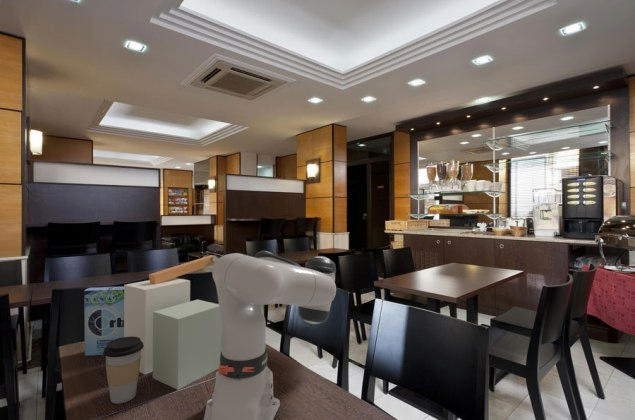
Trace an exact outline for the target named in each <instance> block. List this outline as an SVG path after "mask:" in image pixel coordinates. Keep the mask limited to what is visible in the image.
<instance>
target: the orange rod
mask: <svg viewBox="0 0 635 420" xmlns="http://www.w3.org/2000/svg"><path fill="white" fill-rule="evenodd" d="M206 256H207V257H204V256H202V257H200V258H198V259H194V260H191V261H188V262H184V263H181V264H177V265H174V266H172V267H169V268H168V267H167V268H165V269H162V270H159V271H155V272H153V273H150V274H148V277H149V279H148V280H150V283H152V284H158V283H161V282H163V281H166V280H169V279H172V278H178V277H181V276H184V275H186V274H190V273H192V272H195V271H198V270H200V269H205V268H204V267H207V266H210V265H213V264H215V262H213V261H211V258H212V257H217V255H210V254H209V255H206Z"/></svg>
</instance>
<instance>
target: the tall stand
mask: <svg viewBox="0 0 635 420" xmlns="http://www.w3.org/2000/svg"><path fill="white" fill-rule="evenodd" d="M190 301H191V280H188V279H184V278H178V277H175V278H172V279H169V280H166V281H163V282H161V283H158V284H152V283H150V280H149V279H148V280H144V281H138V282H132V283H127V284H124V337H131V336H132V337H139V338H140V339H141V341H142V342H143V345H144V347H143V349H141V355H140V356H141V361H140V369H139V373H140V374H143V375H147V374H149V373H151V372H152V373H153V312H154V311H158V310H161V309H165V308H169V307H172V306H176V305H180V304H183V303H187V302H190Z"/></svg>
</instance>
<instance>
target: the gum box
mask: <svg viewBox="0 0 635 420" xmlns="http://www.w3.org/2000/svg"><path fill="white" fill-rule="evenodd" d="M83 292H84V294H83V295H84V298H83V299H84V300H83V301H84V302H83V303H84V356H104V355H103V352H104V349H105V348H106V347H107V344H108V343H109V342H110V341H112V340H115V339H118V338H122V337H124V286H90V287H88V288H86V289H84V290H83Z"/></svg>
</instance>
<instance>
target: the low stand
mask: <svg viewBox="0 0 635 420" xmlns="http://www.w3.org/2000/svg"><path fill="white" fill-rule="evenodd" d="M221 352H222V319H221V312H220V307H219V303H214V302H209V301H205V300H202V299H195V300H190V302H187V303H183V304H180V305H176V306H172V307H169V308H165V309H161V310H158V311H154V312H153V371H152V379H153V380H156V381H158V382H160V383H161V384H164V385H167V386H169V387H171V388H172V389H175V390H176V391H178V390H180V389H182V388H184V387H186V386H189V384H192V383H194V382H195V381H198V380H199V379H202V378H204V377H205V376H207V375H209V374H211V373H213V372H215V371H216V370H217V371H218V370H219V365H220V364H219V360H220V355H221Z"/></svg>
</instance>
